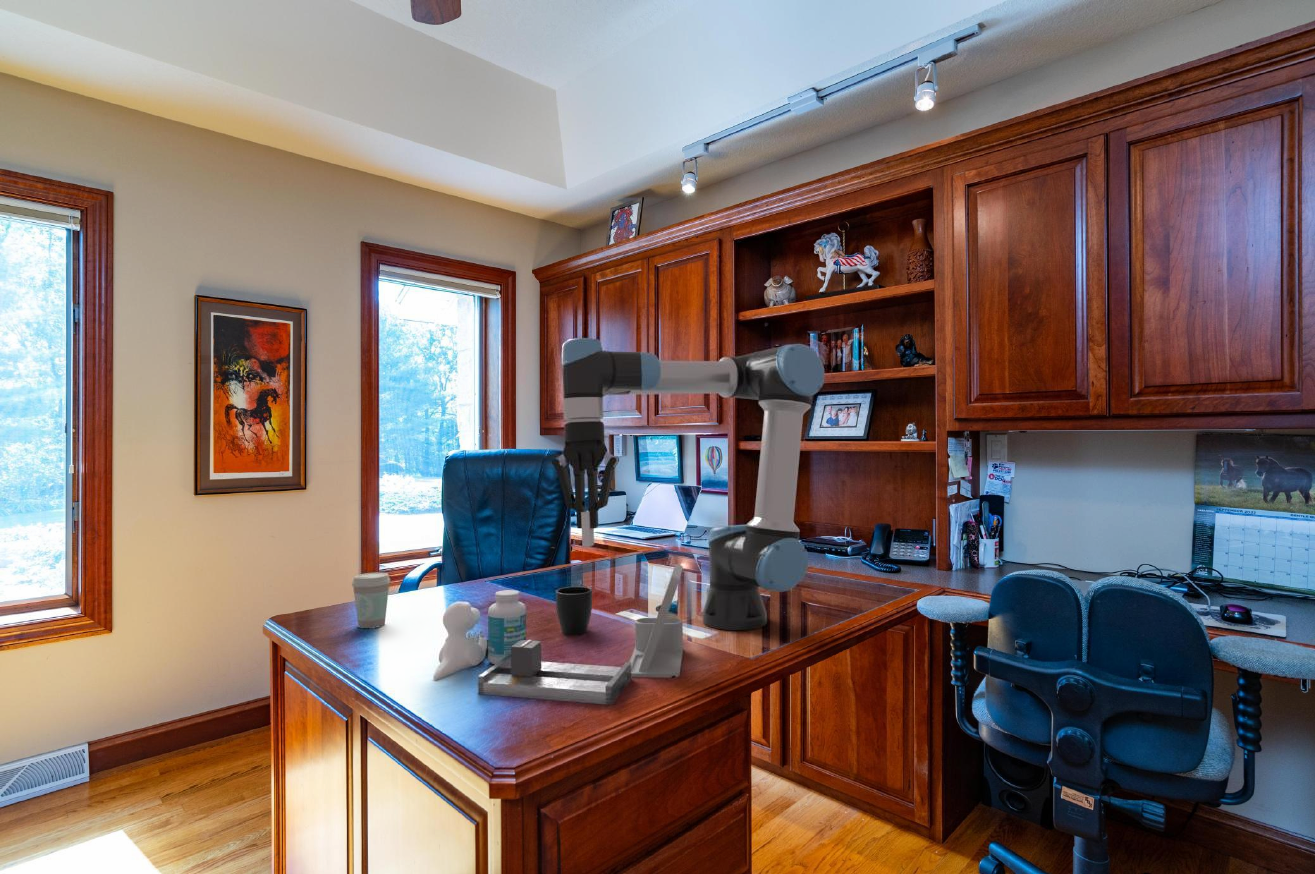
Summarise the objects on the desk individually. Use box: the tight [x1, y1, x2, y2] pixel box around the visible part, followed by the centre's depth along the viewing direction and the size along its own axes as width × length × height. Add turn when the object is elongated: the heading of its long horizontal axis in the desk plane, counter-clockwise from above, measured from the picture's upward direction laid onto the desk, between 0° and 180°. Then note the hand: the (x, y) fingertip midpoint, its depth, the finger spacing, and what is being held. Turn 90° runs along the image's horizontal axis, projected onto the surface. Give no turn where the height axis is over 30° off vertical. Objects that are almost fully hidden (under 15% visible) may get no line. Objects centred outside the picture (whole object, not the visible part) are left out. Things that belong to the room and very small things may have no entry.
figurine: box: [432, 601, 488, 681], centre depth 127 cm, size 8×18×12 cm, turn 166°
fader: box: [511, 639, 542, 677], centre depth 115 cm, size 4×4×6 cm
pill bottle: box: [487, 589, 527, 665], centre depth 128 cm, size 8×7×14 cm
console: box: [477, 654, 632, 706], centre depth 114 cm, size 24×12×3 cm, turn 77°
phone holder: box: [629, 563, 684, 679], centre depth 127 cm, size 17×10×18 cm, turn 175°
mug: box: [555, 585, 593, 636], centre depth 149 cm, size 8×12×10 cm
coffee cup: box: [351, 571, 391, 629], centre depth 155 cm, size 8×9×12 cm
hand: (588, 545), depth 122 cm, fingers closed
